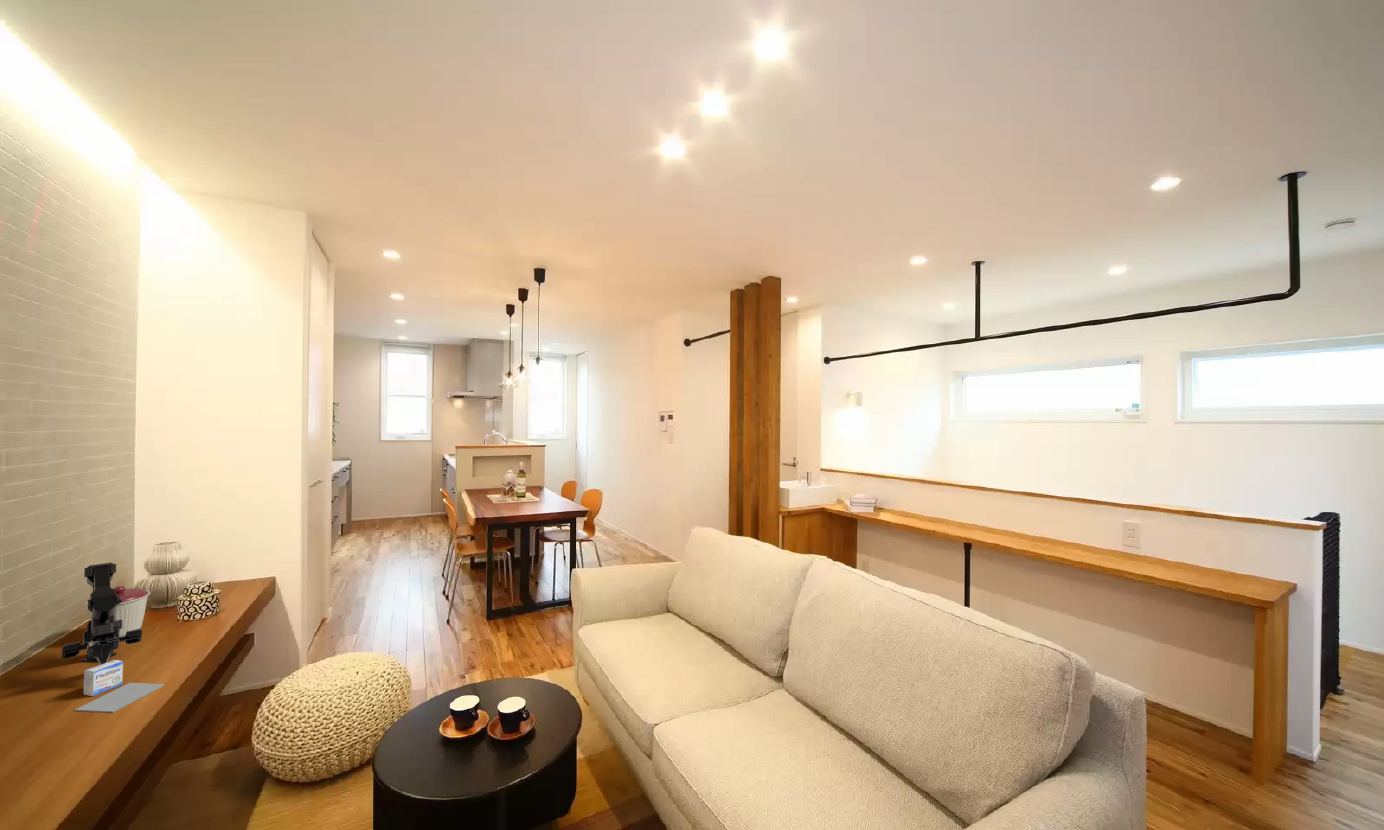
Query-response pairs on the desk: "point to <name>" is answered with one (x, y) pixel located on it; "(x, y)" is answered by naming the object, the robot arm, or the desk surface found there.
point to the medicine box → (103, 677)
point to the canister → (130, 608)
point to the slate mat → (120, 697)
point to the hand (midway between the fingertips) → (103, 665)
